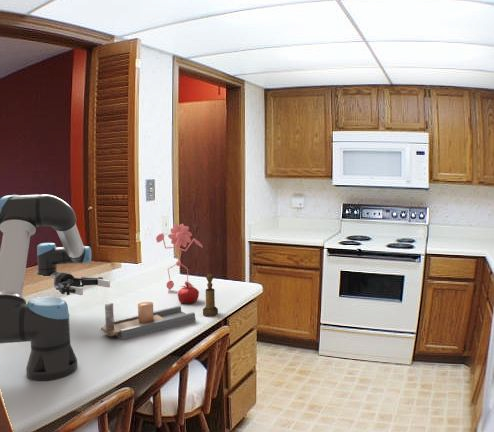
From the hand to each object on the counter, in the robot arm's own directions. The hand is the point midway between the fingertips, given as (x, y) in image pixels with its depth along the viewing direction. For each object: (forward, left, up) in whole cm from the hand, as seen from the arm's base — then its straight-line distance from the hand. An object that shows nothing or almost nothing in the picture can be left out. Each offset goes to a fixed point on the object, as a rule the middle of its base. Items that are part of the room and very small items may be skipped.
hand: (96, 287), depth 187 cm
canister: (+15, -12, -14) cm, 24 cm away
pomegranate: (+46, +7, -17) cm, 50 cm away
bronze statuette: (+44, -15, -17) cm, 50 cm away
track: (+18, -12, -17) cm, 27 cm away
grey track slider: (+10, -12, -15) cm, 22 cm away
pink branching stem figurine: (+54, +27, -17) cm, 63 cm away
